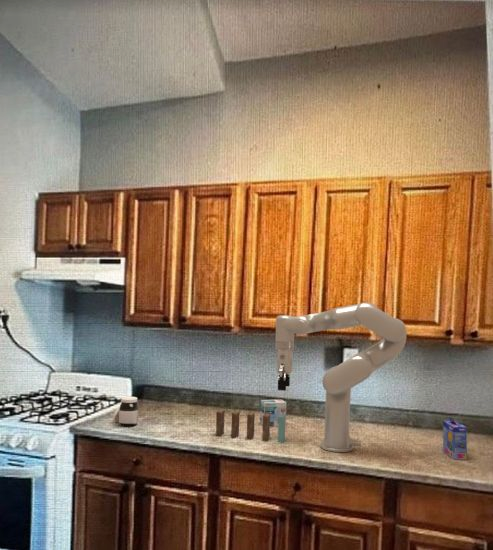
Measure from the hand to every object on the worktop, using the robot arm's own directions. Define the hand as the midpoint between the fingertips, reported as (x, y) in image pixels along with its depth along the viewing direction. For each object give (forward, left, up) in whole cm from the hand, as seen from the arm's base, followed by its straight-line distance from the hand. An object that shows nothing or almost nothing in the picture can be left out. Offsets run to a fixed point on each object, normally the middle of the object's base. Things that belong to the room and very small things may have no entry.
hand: (283, 388), depth 209 cm
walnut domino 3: (+13, 0, -21) cm, 25 cm away
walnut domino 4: (+7, 0, -21) cm, 22 cm away
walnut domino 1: (+26, 0, -21) cm, 34 cm away
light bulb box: (+8, -24, -22) cm, 33 cm away
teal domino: (0, 0, -21) cm, 21 cm away
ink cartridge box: (-66, -3, -22) cm, 69 cm away
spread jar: (+70, -2, -22) cm, 73 cm away
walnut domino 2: (+20, 0, -21) cm, 29 cm away
